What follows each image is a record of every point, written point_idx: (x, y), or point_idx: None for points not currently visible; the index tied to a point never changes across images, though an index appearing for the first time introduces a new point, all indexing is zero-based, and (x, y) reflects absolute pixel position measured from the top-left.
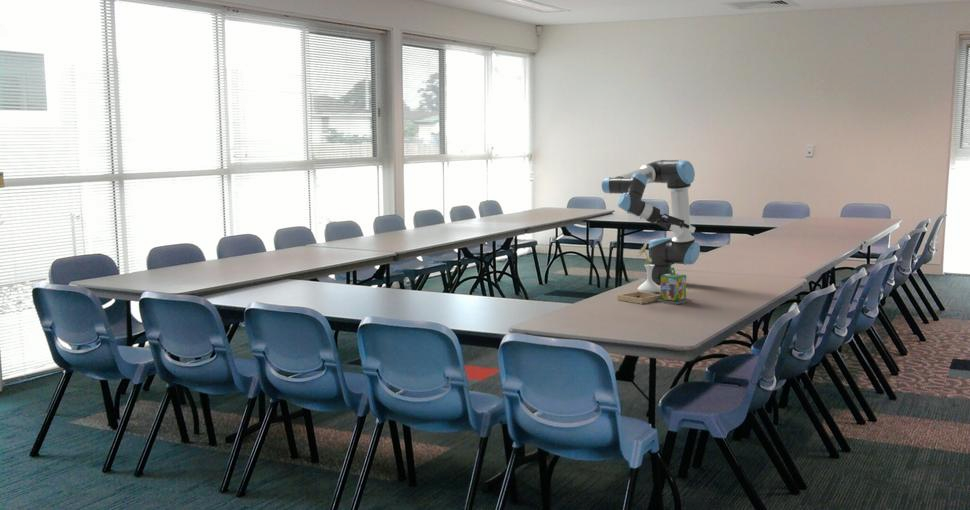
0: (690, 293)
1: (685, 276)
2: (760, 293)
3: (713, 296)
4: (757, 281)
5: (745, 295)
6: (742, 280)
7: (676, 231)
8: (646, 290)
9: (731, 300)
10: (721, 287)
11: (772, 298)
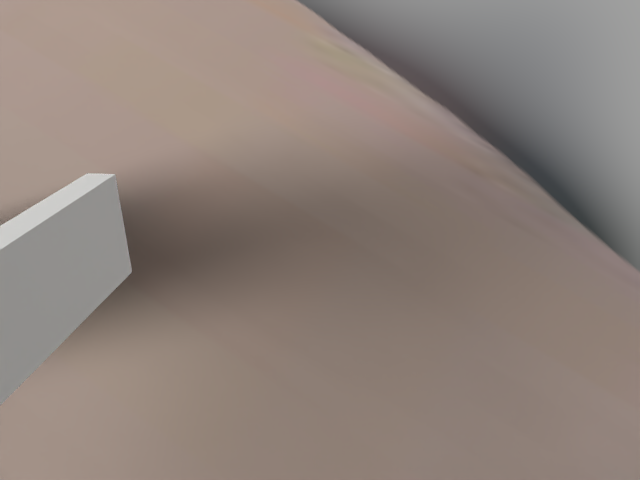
0: (210, 444)
1: None
2: (393, 155)
3: (377, 382)
4: (127, 18)
5: (416, 231)
6: (63, 39)
7: (65, 313)
8: None
9: (538, 372)
10: (151, 190)
11: (534, 188)
